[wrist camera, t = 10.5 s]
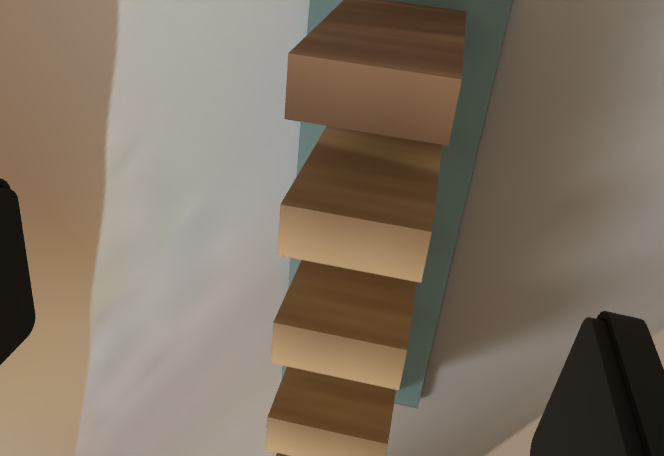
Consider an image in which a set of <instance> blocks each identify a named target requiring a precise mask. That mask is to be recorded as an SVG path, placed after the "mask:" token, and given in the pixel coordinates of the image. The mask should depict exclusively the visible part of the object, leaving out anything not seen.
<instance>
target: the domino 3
mask: <svg viewBox="0 0 664 456" xmlns="http://www.w3.org/2000/svg"><path fill="white" fill-rule="evenodd" d="M416 285H417V282H414V281H409V280H404V279H399V278H394V277H388V276H383V275H378V274H373V273H368V272H362V271H357V270H352V269H347V268H342V267H337V266H331V265H326V264H321V263H316V262H311V261H305V260H301V262H300V264H299V267H298V269H297V271H296V273H295V276H294V278H293V280H292V282H291V284H290V287H289V289H288V291H287V293H286V296H285V298H284V300H283V302H282V305H281V307H280V309H279V311H278V313H277V316H276V318H275V320H274V322H273V337H272V353H271V363H274V364H279V365H283V366H288V367H292V368H297V369H302V370H306V371H311V372H316V373H320V374H325V375H330V376H334V377H339V378H344V379H348V380H353V381H358V382H362V383H367V384H372V385H376V386H381V387H386V388H390V389H395V390H399V387H400V383H401V378H402V373H403V368H404V363H405V359H406V354H407V348H408V341H409V334H410V327H411V320H412V313H413V306H414V299H415V292H416Z"/></svg>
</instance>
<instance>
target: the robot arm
mask: <svg viewBox="0 0 664 456" xmlns="http://www.w3.org/2000/svg"><path fill="white" fill-rule="evenodd" d="M34 323H35V309H34V303H33V296H32V289H31V282H30V276H29V269H28V262H27V256H26V249H25V242H24V235H23V229H22V222H21V215H20V209H19V202H18V197H17V195H16V193H15V192H14V191H12V190H11V189H10V186H9V185H8V183H7V182H6V181H5V180H3V179H0V365H1V364H2V363H3V362H4V361H5V360H6V358H7V357H9V356H10V354H11V353H12V352H13V351H14V350H15V349H16V348H17V347H18V346H19V345H20V344H21V343H22V342H23V341H24V340H25V339H26V338H27V337H28V335H29V334H30V333H31V331H32V329H33V326H34ZM530 456H664V369H663V366H662V364H661V361H660V359H659V356H658V353H657V351H656V348H655V345H654V343H653V340H652V337H651V335H650V332H649V330H648V327H647V325H646V323H645V321H644V320H642V319H639V318H634V317H630V316H625V315H620V314H616V313H611V312H607V311H603V312H601V313H600V314H599V315H598V317H597V318H596V319H594V318H590V317H588V318H586V319H585V320H584V321H583V323H582V325H581V328H580V330H579V332H578V335H577V337H576V339H575V341H574V344H573V346H572V348H571V351H570V353H569V355H568V358H567V360H566V362H565V365H564V367H563V369H562V371H561V374H560V376H559V378H558V381H557V383H556V385H555V388H554V390H553V392H552V395H551V397H550V399H549V402H548V404H547V406H546V408H545V411H544V413H543V415H542V418H541V420H540V422H539V425H538V427H537V429H536V432H535V434H534V436H533V439H532V443H531V450H530Z"/></svg>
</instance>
